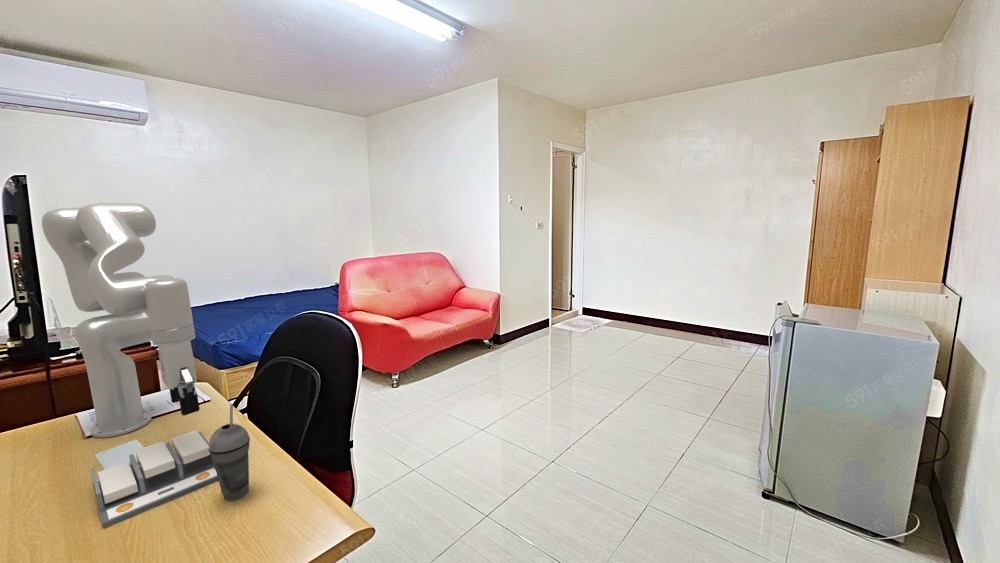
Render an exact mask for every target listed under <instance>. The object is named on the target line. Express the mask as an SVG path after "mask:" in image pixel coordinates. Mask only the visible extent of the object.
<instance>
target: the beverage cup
mask: <svg viewBox="0 0 1000 563" xmlns="http://www.w3.org/2000/svg"><path fill="white" fill-rule="evenodd" d="M250 441H251V437H250V435H249V433H248V431H247V429H246V428H245V427H244V426H242V425H241V424H237V423H234V404H232V403H231V404H230V405H229V423H227V424H224V425H222V426H220V427H219V428H217V429H216V430H215V431H214V433H213V434H212V435H211V437H210V439H209V452H210V455H211V457H212V459H213V461H214V465H215V469H216V472H217V476H218V480H219V481H218V484H219V487H220V491H221V494H222V497H223V500H224V501H226V502H236V501H238V500H241V499H242V498H245V497H246V496H247V494H248V493H249V488H250V486H249V485H250V470H249V450H250Z"/></svg>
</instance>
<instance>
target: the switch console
mask: <svg viewBox="0 0 1000 563" xmlns="http://www.w3.org/2000/svg"><path fill="white" fill-rule="evenodd" d="M197 432H198V433H199V434H200V436H201V437H202V438H203V440H204V441H205V442H206V443H207V445H208V446H209V443H210V441H209V440H208V439H207V438H206V437H205V435H204V434H203V433H202V431H197ZM164 443H165V445H166V447H167V449H168V450H169V452H170V454H171V456H172V457H173V459H174V462H175V468H173V469H171V470H168V471H165V472H163V473H160V474H157V475H154V476H152V477H149V478H145V476H144V474H143V471H142V469H141V467H140V465H138V464H137V462H136V459H135V457H134V455H133V454H131V455H129V457H130V463H131V470H132V473H133V476H134V478H135V481H136V483H137V488H138V492H135V493H132V494H130V495H127V496H125V497H122V498H119V499H117V500H114V501H112V502H109V503H106V504H105V501H104V497H103V494H102V490H101V486H100V482H99V479H98V477H97V476H98V475H97V472H96V469H95V466H92V467H90V473H91V478H92V482H93V483H92V486H93V490H94V495H95V499H96V503H97V508H98V512H99V517H100V522H101V526H102V529H103V528H104V529H105V527H106V528H108V527H110V526H114V525H115V524H117V523H120V522H123V521H125V520H127V519H130V518H132V517H134V516H137V515H139V514H142V513H144V512H147V511H149V510H152V509H154V508H157V507H159V506H161V505H164V504H165V503H168V502H171V501H173V500H175V499H177V498H180V497H183V496H185V495H187V494H190V493H193V492H194V491H197V490H200V489H202V488H204V487H207V486H209V485H211V484H214V483H216V482H219V480H218V476H217V472H216V469H215V465H214V461H213V459H212V457H211V455H208V456H205V457H203V458H200V459H197V460H195V461H192V462H189V463H187V464H183V462H182V461H181V459H180V457H179V456H178V454H177V453H176V451H175V449H174V448H173V446H172V444H171V443H170V442H169V441H168V442H164Z"/></svg>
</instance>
